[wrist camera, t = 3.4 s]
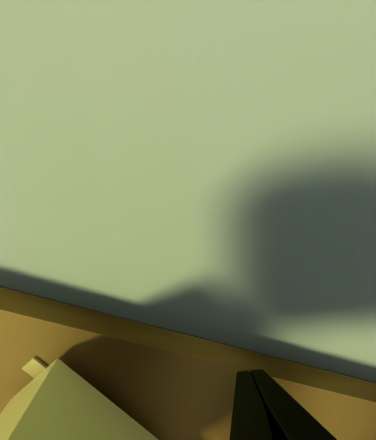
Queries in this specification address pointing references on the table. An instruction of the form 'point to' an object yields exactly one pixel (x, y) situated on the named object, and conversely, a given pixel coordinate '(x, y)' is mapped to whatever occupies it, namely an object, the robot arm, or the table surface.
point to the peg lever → (65, 411)
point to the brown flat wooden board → (165, 371)
